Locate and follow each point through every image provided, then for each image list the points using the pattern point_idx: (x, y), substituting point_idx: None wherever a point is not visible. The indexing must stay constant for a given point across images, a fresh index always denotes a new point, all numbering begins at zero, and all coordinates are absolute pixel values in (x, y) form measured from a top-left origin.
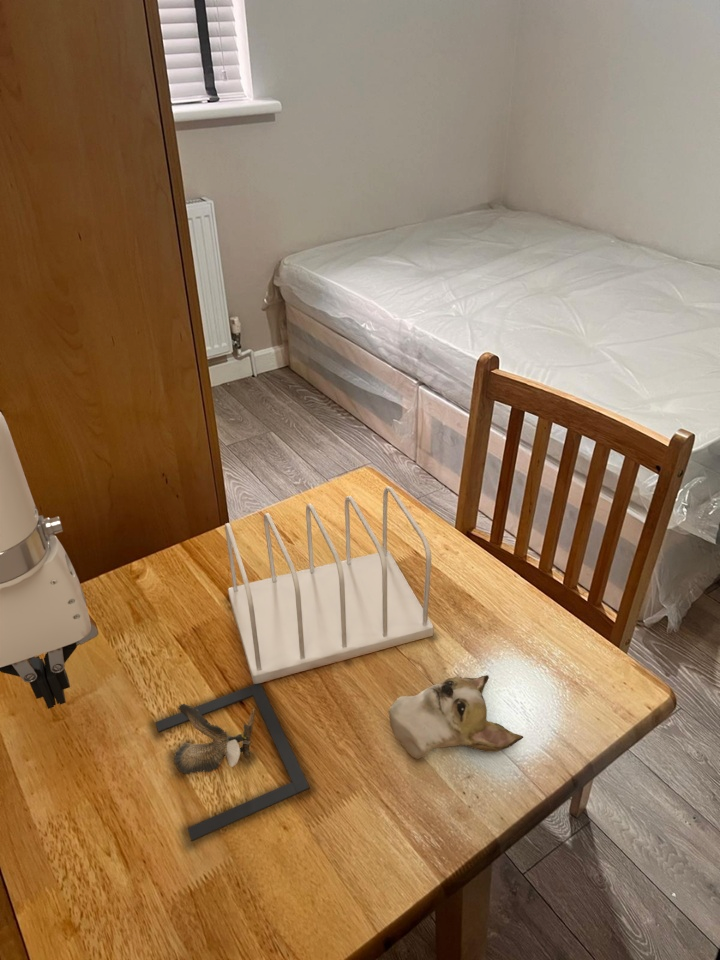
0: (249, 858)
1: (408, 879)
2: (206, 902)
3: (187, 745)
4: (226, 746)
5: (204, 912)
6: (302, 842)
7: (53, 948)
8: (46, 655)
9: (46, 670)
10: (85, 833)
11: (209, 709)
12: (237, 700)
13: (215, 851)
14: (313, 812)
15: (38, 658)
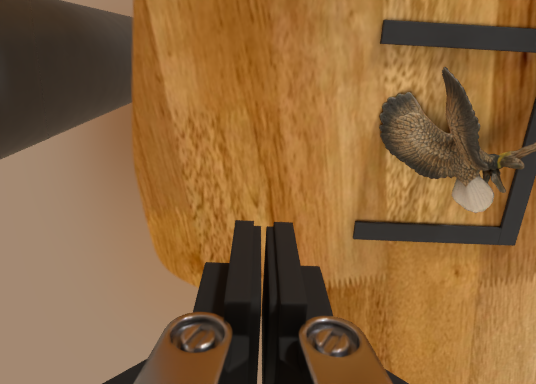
0: (402, 285)
1: (526, 372)
2: (339, 305)
3: (411, 101)
4: (471, 181)
5: (333, 312)
6: (462, 296)
7: (177, 275)
8: (289, 373)
9: (267, 380)
10: (233, 161)
11: (474, 44)
12: (522, 50)
13: (372, 260)
14: (495, 272)
15: (248, 355)
